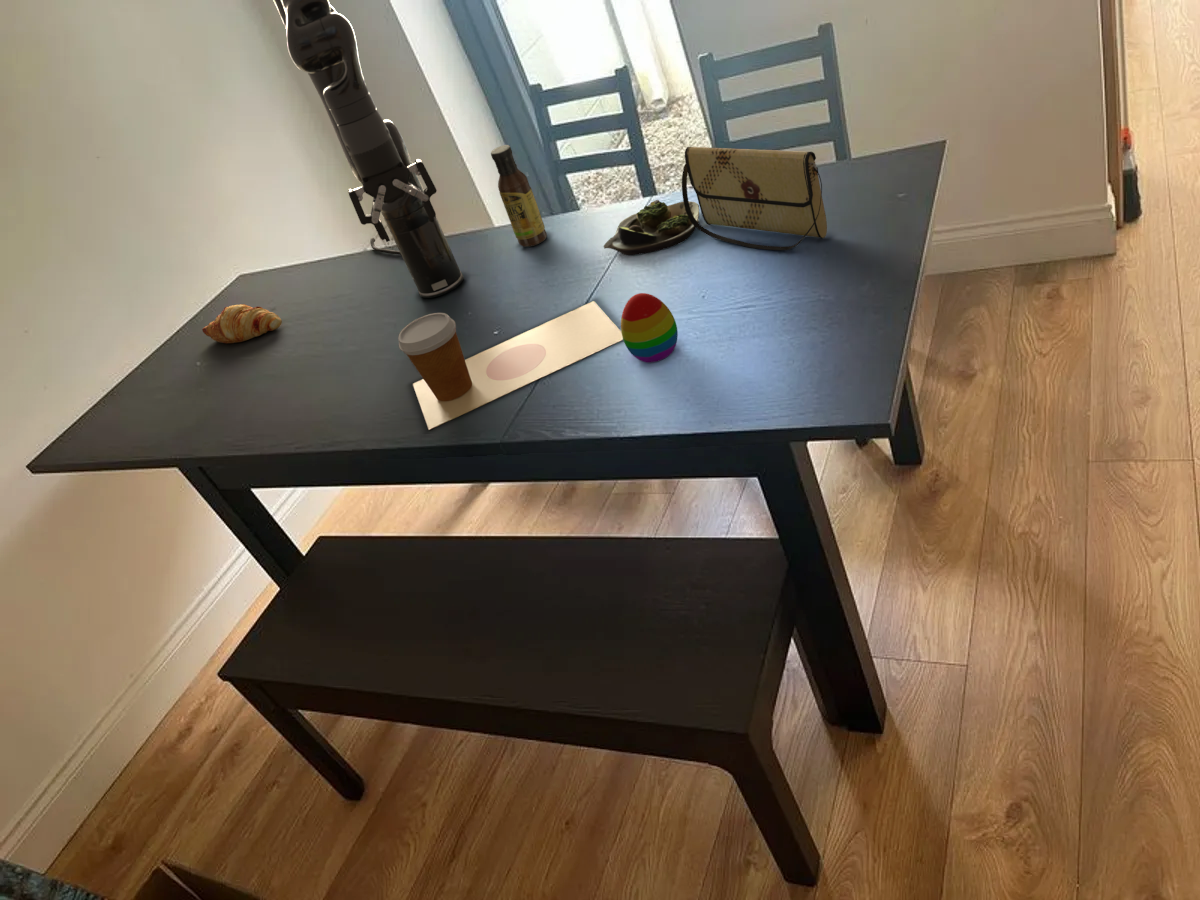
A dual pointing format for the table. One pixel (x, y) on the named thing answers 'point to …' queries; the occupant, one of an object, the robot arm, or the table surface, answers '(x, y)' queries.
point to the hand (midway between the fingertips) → (410, 230)
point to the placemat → (524, 361)
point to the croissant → (241, 324)
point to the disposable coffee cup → (437, 355)
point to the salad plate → (654, 228)
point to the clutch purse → (756, 192)
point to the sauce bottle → (518, 199)
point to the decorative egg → (648, 328)
